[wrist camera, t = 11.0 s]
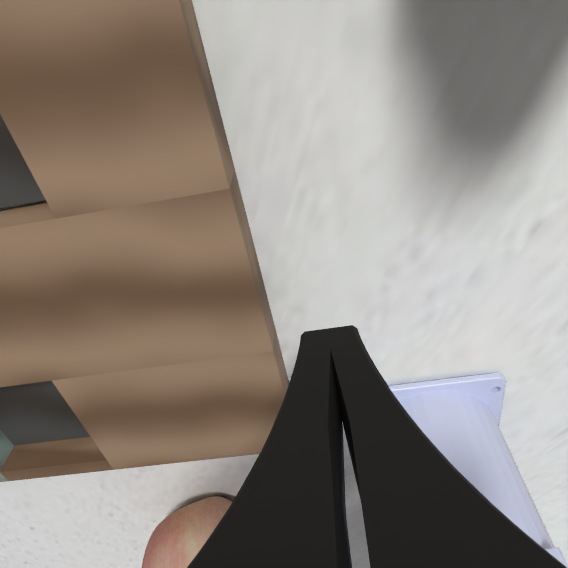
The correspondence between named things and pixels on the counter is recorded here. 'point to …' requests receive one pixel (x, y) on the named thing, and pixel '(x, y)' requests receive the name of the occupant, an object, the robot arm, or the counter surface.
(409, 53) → the counter surface
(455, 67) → the counter surface
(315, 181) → the counter surface
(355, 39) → the counter surface
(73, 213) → the board
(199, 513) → the apple
